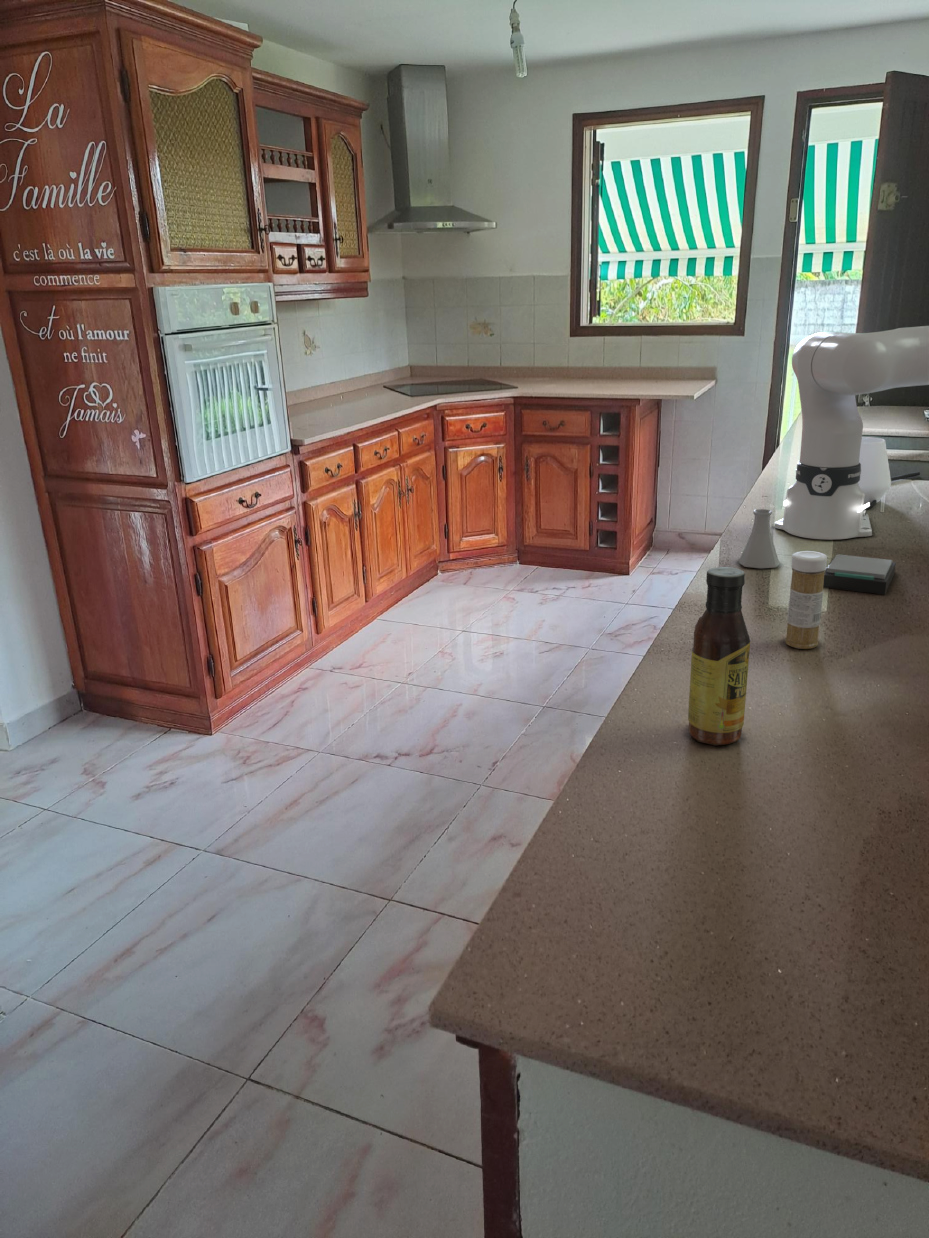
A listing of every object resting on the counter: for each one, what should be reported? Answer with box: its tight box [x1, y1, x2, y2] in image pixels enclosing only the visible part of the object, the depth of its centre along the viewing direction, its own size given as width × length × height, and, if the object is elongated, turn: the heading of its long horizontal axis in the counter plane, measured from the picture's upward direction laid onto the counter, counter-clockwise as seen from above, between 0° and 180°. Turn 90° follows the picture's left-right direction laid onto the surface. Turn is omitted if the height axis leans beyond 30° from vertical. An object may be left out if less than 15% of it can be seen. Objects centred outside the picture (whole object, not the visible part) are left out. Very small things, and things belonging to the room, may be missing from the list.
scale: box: [823, 553, 897, 596], centre depth 151 cm, size 12×10×3 cm
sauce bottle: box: [687, 566, 751, 746], centre depth 99 cm, size 6×6×20 cm
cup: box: [858, 436, 892, 505], centre depth 202 cm, size 13×13×14 cm
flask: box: [738, 508, 780, 569], centre depth 161 cm, size 7×7×10 cm
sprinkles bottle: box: [784, 550, 828, 650], centre depth 124 cm, size 5×5×14 cm
